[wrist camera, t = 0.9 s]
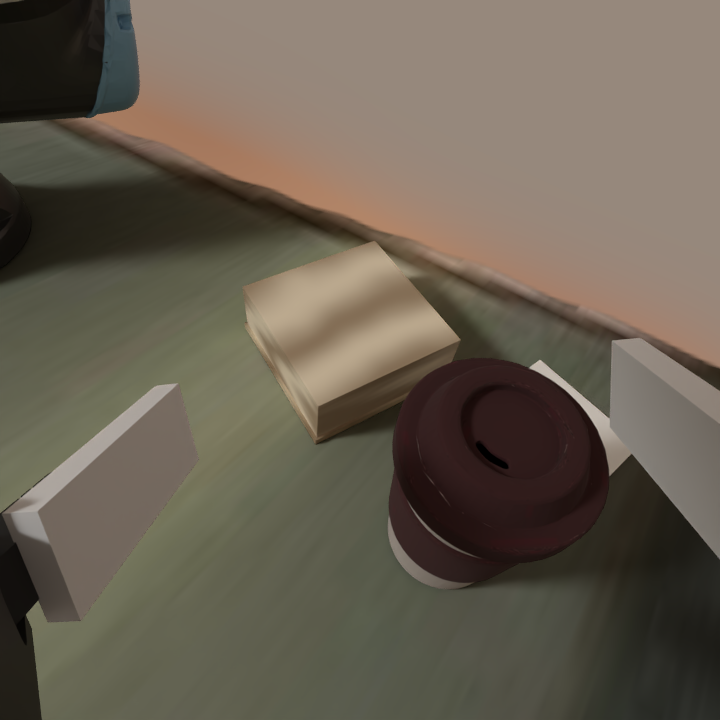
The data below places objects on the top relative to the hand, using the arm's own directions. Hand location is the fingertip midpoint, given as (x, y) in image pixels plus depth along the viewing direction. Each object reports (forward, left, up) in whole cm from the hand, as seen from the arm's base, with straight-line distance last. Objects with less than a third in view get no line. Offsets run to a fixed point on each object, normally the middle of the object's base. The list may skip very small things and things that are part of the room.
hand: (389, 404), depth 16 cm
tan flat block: (-15, +9, -21) cm, 27 cm away
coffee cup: (+1, +7, -21) cm, 22 cm away
